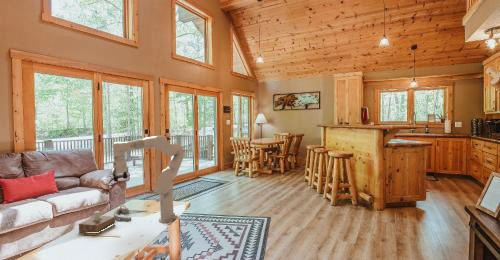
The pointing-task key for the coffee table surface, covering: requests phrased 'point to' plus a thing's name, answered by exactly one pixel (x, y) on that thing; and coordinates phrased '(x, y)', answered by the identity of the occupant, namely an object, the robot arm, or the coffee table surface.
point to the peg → (96, 216)
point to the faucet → (124, 210)
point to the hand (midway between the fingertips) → (120, 179)
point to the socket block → (96, 224)
